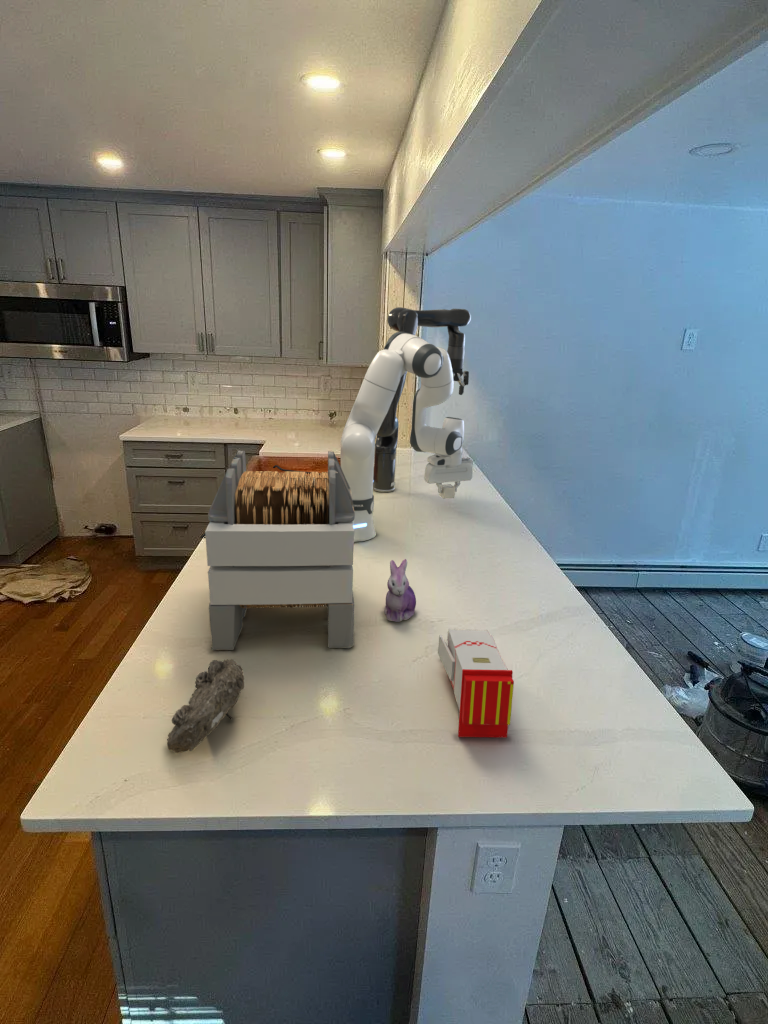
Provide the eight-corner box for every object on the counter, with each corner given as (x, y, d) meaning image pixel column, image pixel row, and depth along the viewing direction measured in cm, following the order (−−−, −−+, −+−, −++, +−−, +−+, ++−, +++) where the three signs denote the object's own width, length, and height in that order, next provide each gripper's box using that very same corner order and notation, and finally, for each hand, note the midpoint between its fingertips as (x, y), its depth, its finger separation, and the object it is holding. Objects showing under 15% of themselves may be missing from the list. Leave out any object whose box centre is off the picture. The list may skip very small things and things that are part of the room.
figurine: (392, 627, 141) (395, 572, 136) (374, 608, 149) (376, 556, 144) (425, 619, 145) (429, 566, 140) (405, 601, 154) (408, 550, 149)
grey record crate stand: (230, 583, 159) (223, 441, 145) (347, 582, 163) (350, 443, 149) (209, 652, 127) (196, 479, 114) (354, 649, 131) (359, 480, 117)
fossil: (192, 660, 117) (244, 628, 112) (224, 691, 120) (276, 661, 115) (142, 746, 98) (202, 712, 93) (182, 779, 101) (242, 748, 96)
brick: (454, 498, 225) (455, 487, 223) (443, 498, 223) (444, 488, 222) (449, 494, 229) (450, 484, 227) (439, 495, 227) (440, 484, 226)
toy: (488, 613, 130) (523, 677, 101) (484, 667, 133) (517, 744, 104) (435, 612, 130) (455, 676, 101) (432, 666, 133) (451, 743, 103)
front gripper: (469, 455, 227) (465, 488, 232) (423, 457, 219) (421, 491, 224) (477, 459, 222) (473, 492, 227) (431, 461, 214) (428, 496, 219)
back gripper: (465, 356, 253) (461, 393, 258) (436, 356, 247) (434, 393, 253) (473, 358, 246) (470, 395, 252) (445, 358, 241) (442, 396, 246)
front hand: (447, 492), depth 225 cm, fingers closed on brick, 5 cm apart
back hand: (452, 394), depth 252 cm, fingers open, 8 cm apart
